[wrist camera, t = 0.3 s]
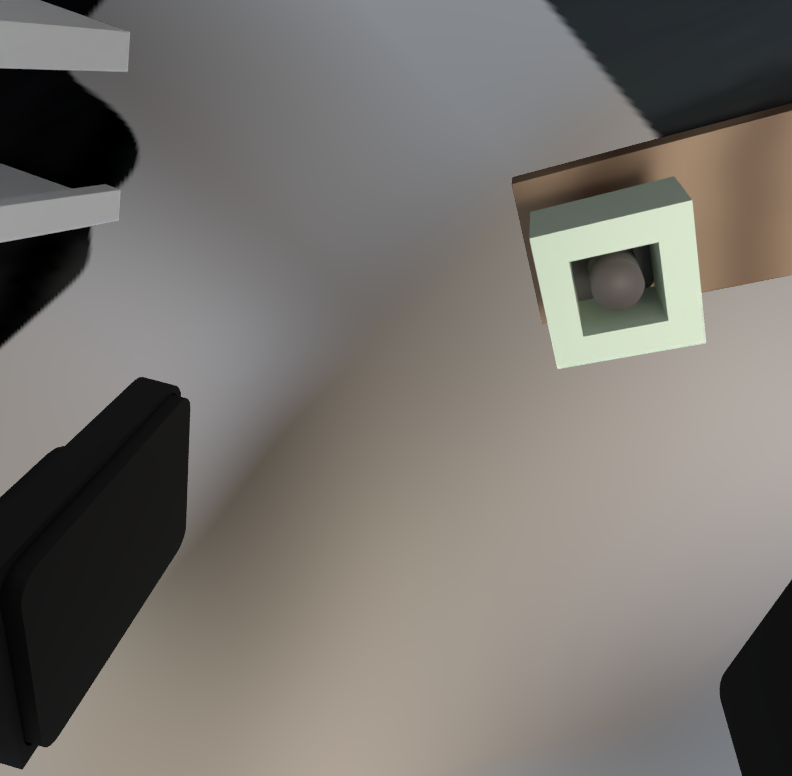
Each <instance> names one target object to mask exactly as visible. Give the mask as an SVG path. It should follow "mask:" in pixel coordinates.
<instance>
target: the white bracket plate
mask: <svg viewBox="0 0 792 776" xmlns="http://www.w3.org/2000/svg"><path fill="white" fill-rule="evenodd" d="M129 46H130V32H128V31H126V30H123V29H120V28H117V27H115V26H112V25H109V24H106V23H103V22H100V21H97V20H95V19H92V18H89V17H86V16H83V15H81V14H78V13H75V12H72V11H69V10H66V9H64V8H61V7H58V6H55V5H52V4H49V3H47V2H44V1H41V0H0V68H11V69H44V70H76V71H77V70H78V71H109V72H128V63H129ZM120 197H121V190H120V189H117V188H114V187H112V186H109V185H106V184H103V185H95V186H88V187H81V188H74V189H72V188H69V187H66V186H63V185H60V184H57V183H55V182H52V181H49V180H46V179H43V178H40V177H38V176H35V175H32V174H29V173H26V172H23V171H21V170H18V169H15V168H12V167H9V166H6V165H4V164H1V163H0V243H1V242H7V241H12V240H18V239H23V238H29V237H34V236H40V235H45V234H51V233H56V232H62V231H67V230H72V229H78V228H83V227H89V226H94V225H100V224H105V223H111V222H116V221H119V213H120Z"/></svg>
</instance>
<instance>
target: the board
mask: <svg viewBox="0 0 792 776" xmlns="http://www.w3.org/2000/svg"><path fill="white" fill-rule="evenodd" d="M673 176H675V178H676V179H677V180H678V182H679V183H680V184H681V186H682V187H683V188H684V190H685V191H686V192H687V194H688V195H689V196H690V198H691V199H692V202H693V212H694V222H695V233H696V243H697V253H698V263H699V274H700V284H701V293H703V292H708V291H713V290H718V289H723V288H728V287H733V286H738V285H743V284H749V283H753V282H758V281H764V280H769V279H774V278H779V277H784V276H789V275H792V103H790V104H786V105H782V106H778V107H775V108H771V109H767V110H763V111H760V112H756V113H752V114H748V115H745V116H741V117H737V118H733V119H730V120H726V121H722V122H718V123H715V124H711V125H707V126H703V127H700V128H696V129H692V130H688V131H685V132H681V133H677V134H673V135H670V136H666V137H662V138H658V139H655V140H651V141H647V142H643V143H640V144H636V145H632V146H629V147H625V148H621V149H617V150H614V151H610V152H606V153H602V154H598V155H595V156H591V157H587V158H584V159H580V160H576V161H572V162H569V163H565V164H561V165H557V166H554V167H550V168H546V169H542V170H538V171H535V172H531V173H527V174H524V175H519V176H516V177H513V178H512V188H513V192H514V196H515V201H516V206H517V210H518V215H519V220H520V223H521V228H522V233H523V238H524V242H525V247H526V251H527V256H528V260H529V265H530V270H531V274H532V279H533V283H534V288H535V292H536V297H537V302H538V305H539V310H540V315H541V320H542V324H545V323H547V318H546V314H545V309H544V304H543V300H542V295H541V290H540V286H539V281H538V277H537V272H536V267H535V263H534V258H533V253H532V249H531V244H530V239H529V233H530V212H532V211H536V210H540V209H544V208H548V207H552V206H556V205H560V204H564V203H568V202H572V201H576V200H581V199H585V198H589V197H593V196H597V195H601V194H605V193H609V192H613V191H617V190H621V189H625V188H629V187H633V186H637V185H641V184H645V183H649V182H653V181H657V180H661V179H665V178H669V177H673ZM571 265H572V270H573V275H574V280H575V286H576V291H577V296H578V302H579V301H584V300H589V299H593V298H594V299H595V301H596V302H597V303H598V304H599V305H600V306H601V307H603V308H605V309H608V310H614V311H617V310H624V309H627V308H629V307H631V306H633V305H634V304H635V303H636V302H637V301H638V300H639V299H640V298H641V296H642V294H643V292H644V288H648V287H653V286H655V285H654V278H653V270H652V263H651V255H650V247H649V244H648V245H644V246H639V247H635V248H630V249H626V250H621V251H616V252H612V253H607V254H603V255H598V256H594V257H589V258H585V259H580V260H576V261H571Z"/></svg>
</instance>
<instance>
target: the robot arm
mask: <svg viewBox="0 0 792 776" xmlns="http://www.w3.org/2000/svg"><path fill="white" fill-rule="evenodd" d="M189 426H190V402H189V400H188V399H187V398H183V397H181V392H180V390H179V388H178V387H177V386H174V385H171V384H167V383H163V382H160V381H155V380H152V379H148V378H144V377H140V378H138V379H136V380H135V381H134V382H132V383H131V384H130V385H129V386H128V387H127V388H126V389H125V390H124V391H123V392H122V393H121V394H120V395H119V396H118V397H117V398H116V399H114V401H112V402H111V403H110V404H109V405H108V406H107V407H106V408H105V409H104V410H103V411H102V412H101V413H100V414H99V415H98V416H96V417H95V418H94V419H93V420H92V421H91V422H90V423H89V424H88V425H87V426H86V427H85V428H84V429H83V430H82V431H81V432H79V433H78V434H77V435H76V436H75V437H74V438H73V439H72V440H71V441H70V442H69V443H68V444H67V445H66V446H62V447H58V448H55V449H54V450H53V451H51V452H50V453H48V454H47V455H46V456H45V457H44V458H43V459H41V460H40V461H39V462H38V463H37V464H36V465H35V466H34V467H33V468H32V469H31V470H29V472H27V473H26V474H25V475H24V476H23V477H22V478H21V479H20V480H19V481H18V482H17V483H16V484H14V485H13V486H12V487H11V488H10V489H9V490H8V491H7V492H6V493H5V494H4V495H2V496H1V497H0V763H2V764H5V765H9V766H12V767H15V768H19V769H23V768H24V766H25V765H26V763H27V762H28V760H29V759H30V757H31V756H32V754H33V753H34V751H35V750H36V748H37V747H38V745H39V746H42V747H48V746H50V745H51V744H52V743H53V742H54V741H55V740H56V739H57V737H58V736H59V734H60V733H61V731H62V730H63V728H64V727H65V725H66V724H67V722H68V721H69V719H70V717H71V716H72V714H73V713H74V711H75V710H76V708H77V706H78V705H79V703H80V702H81V700H82V699H83V697H84V696H85V694H86V692H87V691H88V689H89V688H90V686H91V685H92V683H93V682H94V680H95V679H96V677H97V676H98V674H99V672H100V671H101V669H102V668H103V666H104V665H105V663H106V661H107V660H108V658H109V657H110V655H111V654H112V652H113V651H114V649H115V648H116V646H117V644H118V643H119V641H120V640H121V638H122V637H123V635H124V634H125V632H126V631H127V629H128V627H129V626H130V624H131V623H132V621H133V619H134V618H135V617H136V615H137V613H138V612H139V610H140V609H141V607H142V606H143V604H144V602H145V601H146V599H147V598H148V596H149V595H150V593H151V592H152V590H153V589H154V587H155V585H156V584H157V583H158V580H159V579H160V578H161V576H162V575H163V573H164V572H165V570H166V568H167V567H168V565H169V564H170V562H171V561H172V559H173V558H174V556H175V554H176V553H177V551H178V550H179V548H180V546H181V543H182V541H183V538H184V534H185V530H186V510H187V509H186V508H187V482H188V454H189V428H190V427H189ZM720 699H721V703H722V706H723V710H724V713H725V717H726V721H727V724H728V728H729V731H730V735H731V738H732V741H733V745H734V749H735V752H736V755H737V759H738V763H739V766H740V770H741V773H742V776H792V580H791V582H790V583H789V584H788V586H787V587H786V588H785V590H784V591H783V592H782V594H781V595H780V597H779V598H778V599H777V601H776V602H775V604H774V605H773V606H772V608H771V609H770V611H769V612H768V613H767V615H766V616H765V617H764V619H763V620H762V622H761V623H760V624H759V626H758V627H757V628H756V630H755V631H754V633H753V634H752V635H751V637H750V638H749V640H748V641H747V642H746V644H745V645H744V646H743V648H742V649H741V651H740V652H739V653H738V655H737V656H736V657H735V659H734V660H733V661H732V663H731V664H730V666H729V667H728V668H727V670H726V671H725V673H724V674H723V676H722V679H721V682H720Z"/></svg>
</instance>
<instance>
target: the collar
mask: <svg viewBox="0 0 792 776" xmlns="http://www.w3.org/2000/svg"><path fill="white" fill-rule="evenodd" d="M529 239H530V244H531V249H532V253H533V258H534V263H535V267H536V272H537V277H538V281H539V286H540V290H541V295H542V300H543V304H544V309H545V314H546V318H547V323H548V328H549V332H550V336H551V341H552V346H553V351H554V355H555V360H556V365H557V369H560V368H566V367H572V366H578V365H583V364H589V363H595V362H601V361H606V360H612V359H618V358H623V357H629V356H635V355H641V354H646V353H652V352H658V351H664V350H669V349H675V348H681V347H685V346H692V345H697V344H703V343H706V336H705V326H704V315H703V306H702V294H701V284H700V274H699V263H698V253H697V243H696V233H695V222H694V212H693V202H692V199H691V198H690V196H689V195H688V194H687V192H686V191H685V190H684V188H683V187H682V186H681V184H680V183H679V182H678V180H677V179H676V178H675V176H673V177H669V178H665V179H661V180H657V181H653V182H649V183H645V184H641V185H637V186H633V187H629V188H625V189H621V190H617V191H613V192H609V193H605V194H601V195H597V196H593V197H589V198H585V199H581V200H576V201H572V202H568V203H564V204H560V205H556V206H552V207H548V208H544V209H540V210H536V211H532V212H530V233H529ZM648 244H649V247H650V255H651V263H652V270H653V278H654V285H655V286H653V287H648V288H644V292H643V294H642V296H641V298H640V299H639V300H638V301H637V302H636V303H635V304H634V305H633V306H631V307H629V308H627V309H624V310H617V311H614V310H608V309H605V308H603V307H601V306H600V305H599V304H598V303H597V302H596V301H595V299H594V298H593V299H589V300H584V301H579V302H578V296H577V291H576V286H575V280H574V275H573V270H572V265H571V261H576V260H580V259H585V258H589V257H594V256H598V255H603V254H607V253H612V252H616V251H621V250H626V249H630V248H635V247H639V246H644V245H648Z"/></svg>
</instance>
